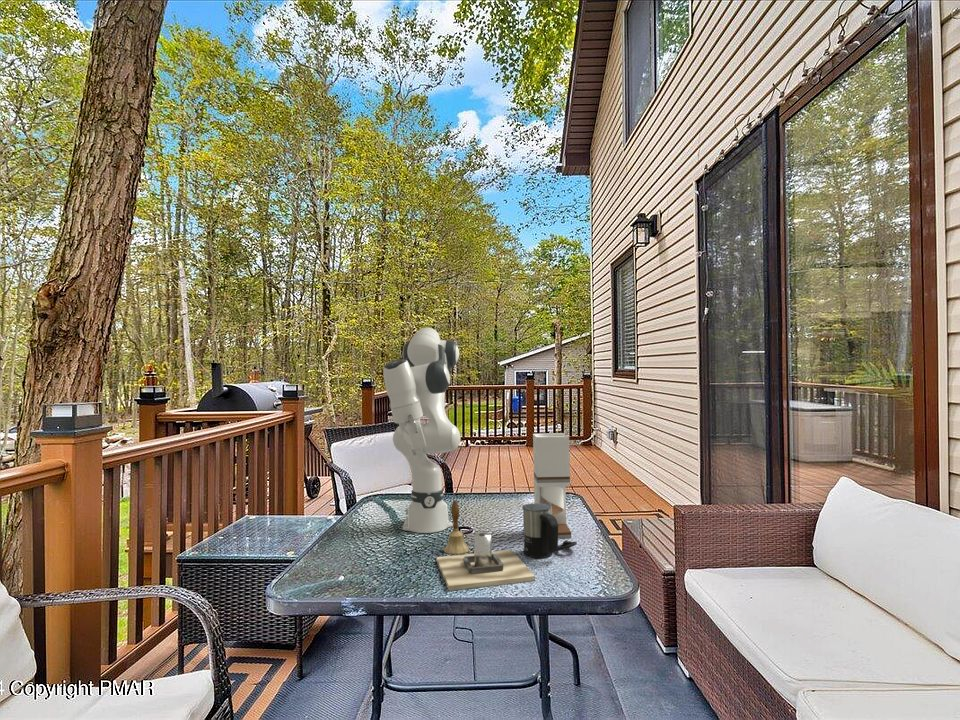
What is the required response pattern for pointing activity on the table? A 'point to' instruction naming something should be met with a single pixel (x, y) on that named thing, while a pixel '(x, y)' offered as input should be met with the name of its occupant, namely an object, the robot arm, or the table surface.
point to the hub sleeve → (482, 549)
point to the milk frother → (541, 531)
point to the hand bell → (455, 535)
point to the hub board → (483, 570)
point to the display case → (552, 475)
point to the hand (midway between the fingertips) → (418, 458)
